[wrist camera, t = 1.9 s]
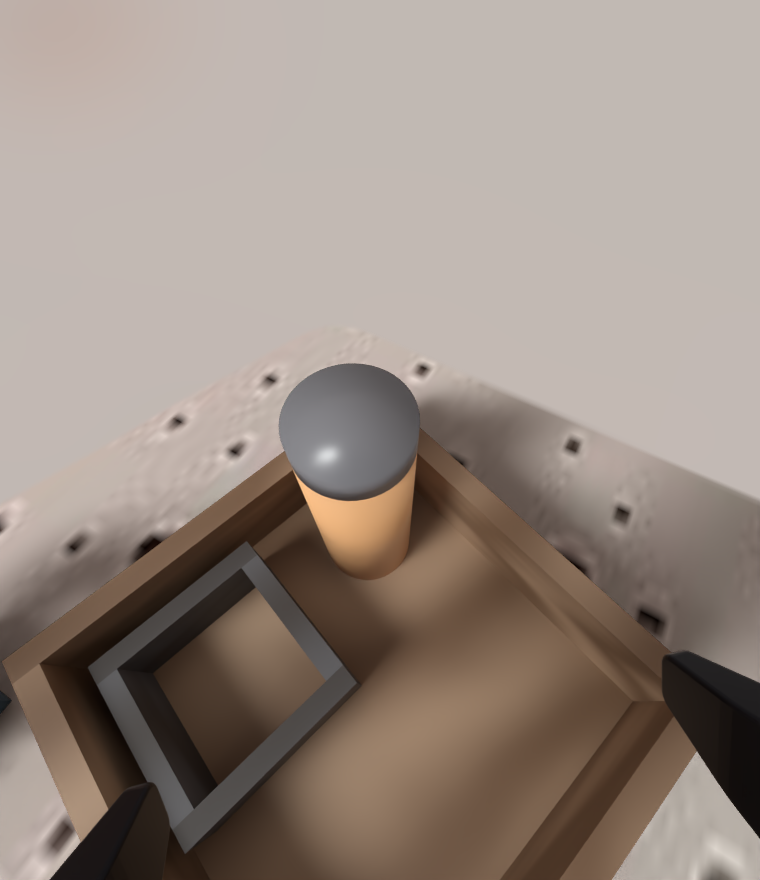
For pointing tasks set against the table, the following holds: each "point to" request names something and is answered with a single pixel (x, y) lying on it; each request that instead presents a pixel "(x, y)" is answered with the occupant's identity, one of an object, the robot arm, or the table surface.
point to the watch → (3, 701)
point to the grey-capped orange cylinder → (355, 462)
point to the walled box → (360, 697)
